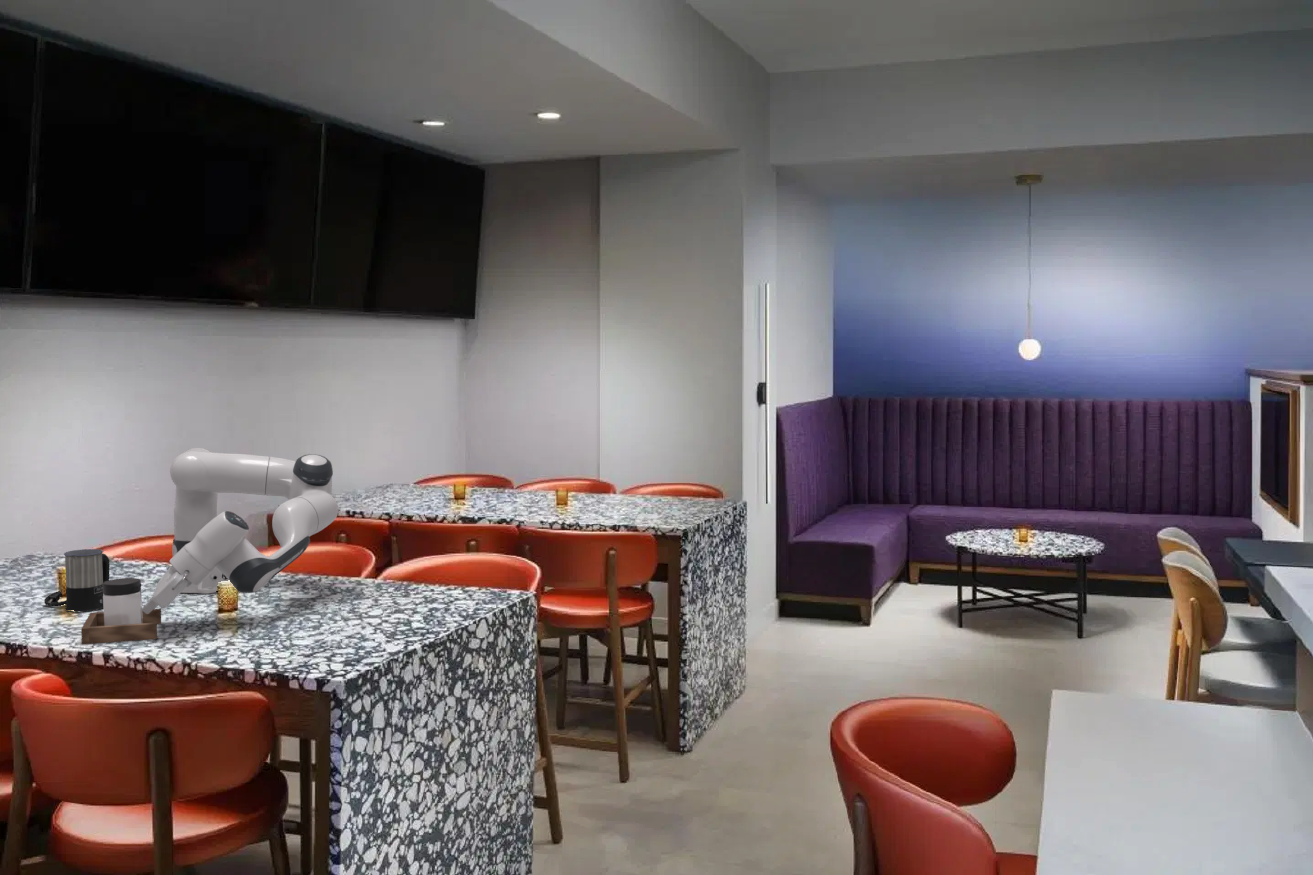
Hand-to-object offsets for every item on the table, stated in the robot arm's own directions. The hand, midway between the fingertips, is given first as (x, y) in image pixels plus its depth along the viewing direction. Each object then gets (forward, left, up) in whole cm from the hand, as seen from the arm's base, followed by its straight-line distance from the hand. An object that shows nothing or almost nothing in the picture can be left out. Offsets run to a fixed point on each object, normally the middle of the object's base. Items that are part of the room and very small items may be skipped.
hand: (144, 611), depth 269 cm
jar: (+4, -2, -5) cm, 7 cm away
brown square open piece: (+4, -1, -5) cm, 6 cm away
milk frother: (+6, -39, -5) cm, 39 cm away
